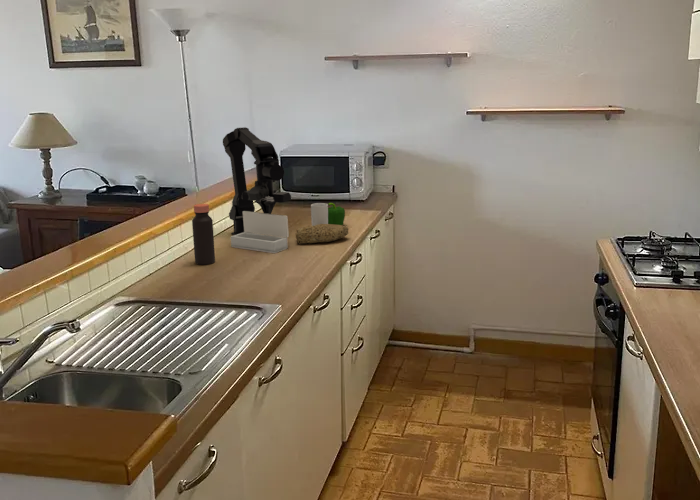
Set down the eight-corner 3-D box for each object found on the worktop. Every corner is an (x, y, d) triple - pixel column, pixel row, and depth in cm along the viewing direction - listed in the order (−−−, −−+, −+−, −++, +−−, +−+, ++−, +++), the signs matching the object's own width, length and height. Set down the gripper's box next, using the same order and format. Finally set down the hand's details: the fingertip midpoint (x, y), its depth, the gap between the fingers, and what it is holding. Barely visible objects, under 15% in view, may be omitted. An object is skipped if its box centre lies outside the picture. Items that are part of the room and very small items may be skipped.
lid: (242, 211, 263) (244, 210, 263) (244, 231, 265) (245, 231, 266) (285, 216, 253) (287, 215, 254) (287, 237, 255) (288, 236, 256)
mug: (325, 236, 273) (325, 206, 270) (309, 235, 275) (308, 206, 272) (332, 230, 283) (331, 201, 280) (316, 230, 284) (315, 201, 281)
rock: (298, 249, 260) (350, 237, 259) (293, 229, 259) (345, 217, 259) (300, 247, 273) (350, 236, 272) (295, 228, 272) (345, 216, 272)
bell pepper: (346, 224, 295) (345, 200, 292) (344, 228, 287) (343, 204, 285) (326, 223, 296) (326, 200, 293) (324, 228, 288) (323, 204, 285)
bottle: (208, 258, 244) (204, 202, 239) (219, 262, 239) (215, 204, 234) (191, 262, 239) (187, 205, 234) (202, 266, 234) (198, 207, 229)
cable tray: (231, 246, 259) (230, 236, 258) (244, 242, 266) (244, 232, 265) (274, 253, 250) (274, 242, 248) (287, 248, 256) (287, 237, 255)
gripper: (230, 180, 254) (234, 221, 258) (272, 182, 245) (276, 225, 249) (249, 174, 263) (252, 215, 267) (290, 177, 254) (293, 218, 258)
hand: (267, 218), depth 260 cm, fingers closed, pressing on lid
